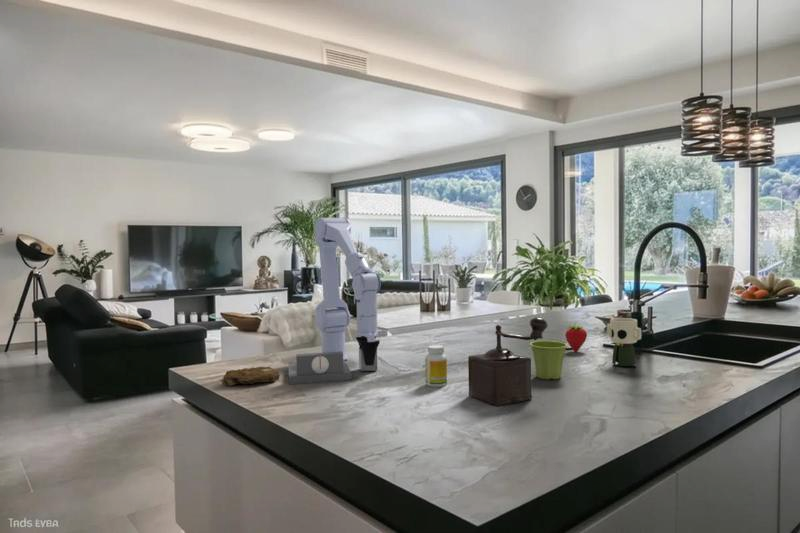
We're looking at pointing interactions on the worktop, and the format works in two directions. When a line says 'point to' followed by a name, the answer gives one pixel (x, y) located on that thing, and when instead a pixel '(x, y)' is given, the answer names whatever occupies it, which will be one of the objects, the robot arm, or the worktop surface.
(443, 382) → the supplement bottle
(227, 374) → the decorative rock
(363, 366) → the block
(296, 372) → the scale
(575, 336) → the strawberry
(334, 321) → the robot arm
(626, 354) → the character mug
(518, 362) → the manual coffee grinder
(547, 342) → the plant pot
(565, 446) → the worktop surface
